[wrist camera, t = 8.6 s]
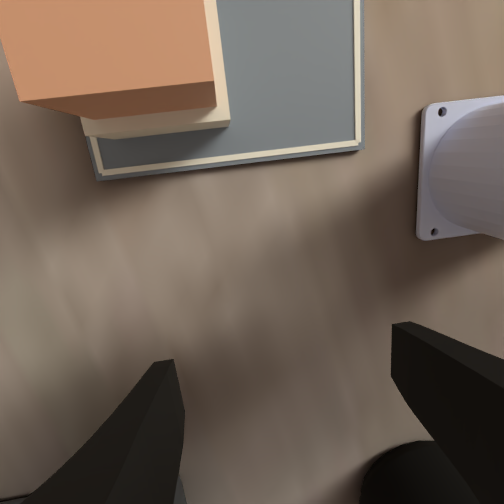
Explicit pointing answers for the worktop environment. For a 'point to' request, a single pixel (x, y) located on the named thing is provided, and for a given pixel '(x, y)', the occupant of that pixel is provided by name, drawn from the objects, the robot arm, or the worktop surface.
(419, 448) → the coffee jar
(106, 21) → the terracotta block
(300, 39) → the board
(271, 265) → the worktop surface
